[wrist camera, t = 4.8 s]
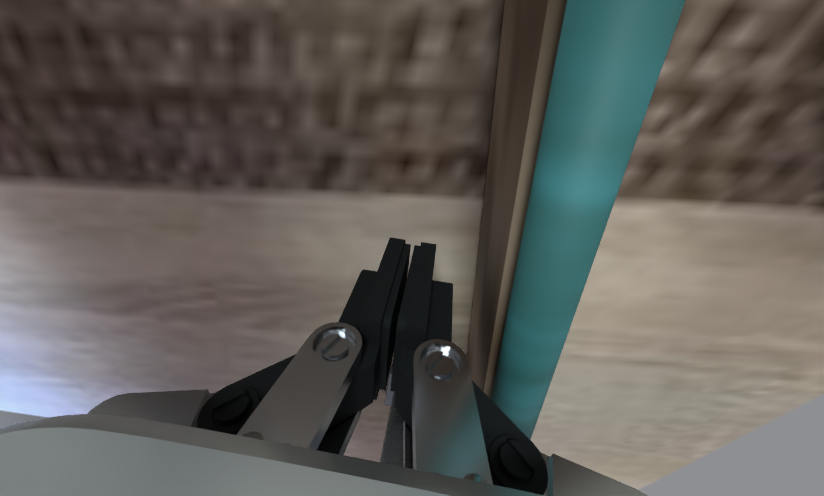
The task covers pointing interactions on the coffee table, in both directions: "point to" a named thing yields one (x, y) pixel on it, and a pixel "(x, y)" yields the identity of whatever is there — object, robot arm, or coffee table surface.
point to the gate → (555, 177)
